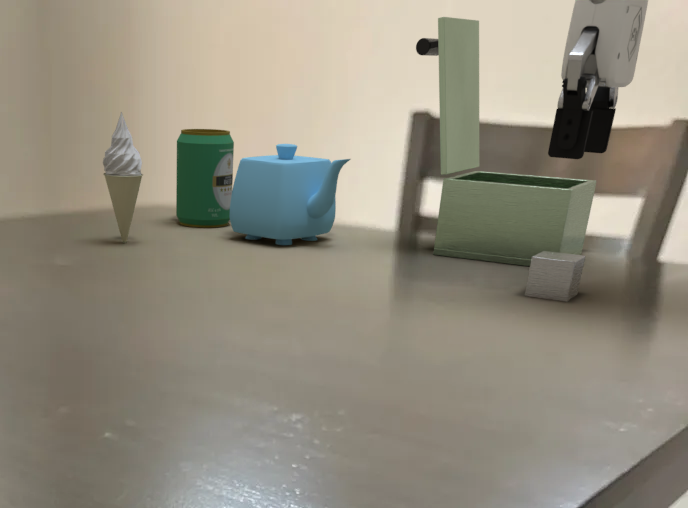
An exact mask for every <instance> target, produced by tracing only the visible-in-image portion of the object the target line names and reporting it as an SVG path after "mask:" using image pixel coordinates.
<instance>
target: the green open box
mask: <svg viewBox="0 0 688 508" xmlns="http://www.w3.org/2000/svg"><path fill="white" fill-rule="evenodd" d="M596 186H597V180H595V179H593V180H592V179H581V178H570V177H557V176H546V175H545V176H544V175H531V174H521V173H520V174H519V173H508V172H496V171H483V170H475V171H470V172H466V173H462V174H461V173H460V174H458V175H453V176H450V177H446V178H443V180H442V186H441V193H440V194H441V195H440V202H439V209H438V215H437V223H436V230H435V238H434V245H433V252H432V253H433V254H432V255H434V256H441V257H448V258H449V257H450V258H458V259H467V260H473V261H475V260H476V261H483V262H491V263H498V264H499V263H500V264H506V265H513V266H514V265H515V266H523V267H524V266H525V267H530V264H531V258H532V257H533V256H535V255H537V254H539V253H541V252H542V251H549V252H557V253H566V254H575V255H582V253H583V247H584V243H585V239H586V234H587V229H588V223H589V219H590V215H591V210H592V206H593V200H594V196H595V190H596Z"/></svg>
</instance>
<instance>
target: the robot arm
mask: <svg viewBox="0 0 688 508" xmlns="http://www.w3.org/2000/svg"><path fill="white" fill-rule="evenodd" d="M648 4H649V0H575V1H574V4H573V9H572V13H571V18H570V22H569V28H568V32H567V36H566V43H565V46H564V52H563V59H562V65H561V74H560V77H561V79H562V82H561V88H562V89H561V92H560V94H559V96H558V99H557V108H556V111H555V114H554V120H553V124H552V125H553V126H552V131H551V135H550V141H549V144H548V151H547V155H548V157H550V158H558V159H569V160H580V159H582V158H583V157H584V155H585V153H592V154H604V153H606V152H607V150H608V145H609V143H610V142H609V141H610V137H611V132H612V129H613V124H614V119H615V115H616V110H617V108H616V106H617V103H618V98H619V88H626V87H628V86H629V85H631V83H632V82H633V80H634V77H635V71H636V66H637V62H638V57H639V52H640V46H641V41H642V36H643V31H644V25H645V21H646V14H647V9H648V6H649V5H648Z"/></svg>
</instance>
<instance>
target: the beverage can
mask: <svg viewBox="0 0 688 508" xmlns="http://www.w3.org/2000/svg"><path fill="white" fill-rule="evenodd" d="M234 147H235V141H234V139H233V138H232V136H231V131H230V130H225V129H216V128H215V129H214V128H213V129H212V128H184V129H180V134H179V136H178V138H177V139H176V187H175V188H176V189H175V190H176V202H175V203H176V205H175V206H176V208H175V209H176V210H175V211H176V212H175V215H176V218H177V219H178V221H179V224H180V225H181V226H185V227H192V228H204V229H205V228H208V229H209V228H222V227H223V228H224V227H227V226H228V225H229V222H230V216H229V215H230V203H231V195H232V190H233V184H234V182H233V181H234V180H233V179H234V177H233V176H234V151H235V149H234Z"/></svg>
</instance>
